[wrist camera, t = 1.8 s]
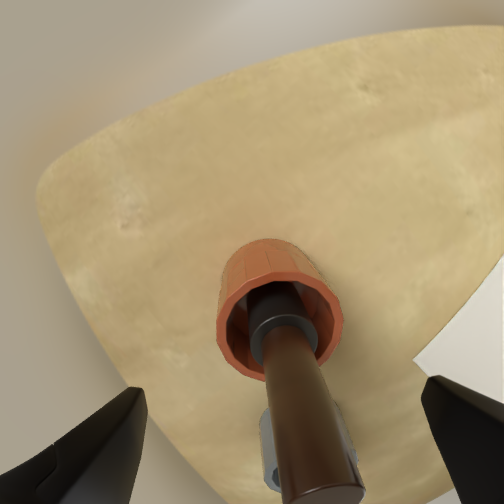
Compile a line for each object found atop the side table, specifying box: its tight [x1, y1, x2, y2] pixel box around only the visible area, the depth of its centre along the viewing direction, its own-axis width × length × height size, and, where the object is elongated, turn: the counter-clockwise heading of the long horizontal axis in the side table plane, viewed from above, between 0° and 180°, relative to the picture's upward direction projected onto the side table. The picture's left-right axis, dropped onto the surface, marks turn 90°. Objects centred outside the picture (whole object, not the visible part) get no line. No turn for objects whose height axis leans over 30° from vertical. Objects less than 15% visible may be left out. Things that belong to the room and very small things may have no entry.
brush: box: [247, 281, 366, 504], centre depth 10 cm, size 3×3×11 cm
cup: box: [259, 400, 359, 493], centre depth 19 cm, size 6×6×5 cm
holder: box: [216, 239, 344, 382], centre depth 15 cm, size 5×5×6 cm
